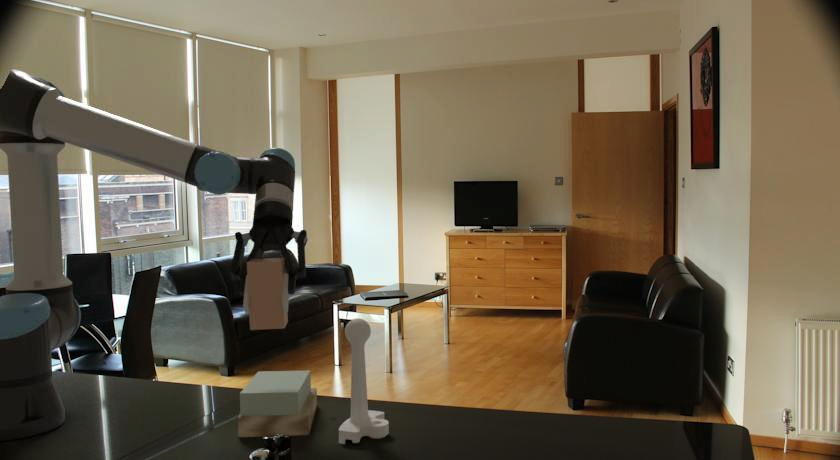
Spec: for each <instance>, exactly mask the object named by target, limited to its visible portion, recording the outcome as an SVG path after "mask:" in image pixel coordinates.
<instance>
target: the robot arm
mask: <svg viewBox="0 0 840 460" xmlns="http://www.w3.org/2000/svg"><path fill="white" fill-rule="evenodd" d="M11 69H12V70H11V71H10V73H9V75H8V77H7V79H6V81H5V83H4V85H3V86H2V88H1V89H0V150H2V151H3V152H4V153H5V154H6V158H7V159H6V160H7V171H8V172H7V173H8V176H7V177H8V190H9V191H8V193H9V207H10V209H9V211H10V226H11V242H12V243H11V245H12V258H13V259H12V262H13V278H12V280H11V281H10V282H9V283H8V284H7V285H6V286H5V295H1V296H0V442H1V441H2V442H4V441H10V440H11V441H12V440H18V439H24V438H28V437H33V436H38V435H40V434H41V435H42V434H43V433H48V432H49V431H51V430H54V429H57V428H58V427H60V426H62V425H63V424H64V422H65V421H66V413H65V411H66V410H65V406H64V404H63V400H62V398H61V396H60V394H59V392H58V389H57V388H56V387H57V386H56V385H55V382H54V379H53V363H52V362H53V361H52V359H53V358H52V352H53V351H55V350H56V349H59V348H61V347H63V346H64V345H65V344H67V343H68V342H69V341H70V340H71V339H72V338H73V336H74V335H75V334H76V332H77V330H78V328H79V327H80V324H81V318H82V313H81V308H80V305H79V303H78V301H77V300H76V298H75V297H74V293H73V289H74V288H73V281H71V280H70V279H69V278H68V277H67V276H66V275H65V274H64V263H63V260H64V259H63V244H62V243H63V241H62V226H61V225H62V224H61V204H60V188H59V187H60V186H59V167H58V165H59V164H58V154H59V153H60V152H61V151H63V150H64V149H65V147H66V143H67V144H69V145H72V146H75V147H78V148H81V149H84V150H87V151H90V152H93V153H96V154H98V155H101V156H105V157H109V158H111V159H114V160H116V161H120V162H122V163H124V164H125V163H126V164H129V165H132V166H135V167H138V168H141V169H144V170H146V171H150V172H152V173H156V174H159V175H161V176H163V177H167V178H171V179H173V180H176V181H179V182H182V183H185V184H187V185H191V186H193V187H196V188H197V190H199V191H201V192H206V193H210V194H214V195H224V194H241V195H242V194H246V195H255V198H254V199H255V201H254V210H253V218H252V226H251V228H250V230H249V231H248V232H247V233H242V232H241V231H237V232H235V233H234V237H235V241H236V242H235V247H234V252H233V257H232V261H231V265H230V266H231V267H230V274H231V279H232V281H234V282H236V281H239V284H238V285H239V287H238V292H239V294H240V296H241V297H243V300H242V301H243V304H242V305H243V306H242V307H243V310H244V313H245V315H246V314H248V315H249V294H248V278H247V262H248V261H250V260H251V259H262V257H263V256H264V254H265V252H269V251H270V252H271V251H273V252H279V254H280V256H281V257H280V258H285V266H286V274H284V281H283V297H282V305H283V310H284V312H288V313H289V299H290V295H295V293H296V281H297V280H298V279H305V278H306V277H307V267H306V266H307V265H306V250H305V249H306V248H305V247H306V244H307V243H308V233H307V230H306V229H301V230H300V231H295V230H294V228H293V218H294V216H293V215H294V214H293V212H294V196H295V195H294V193H295V182H296V163H295V159H294V157H293V154H291V153H290V152H289V151H287V150H286V149H283V148H281V147H271V148H269V149H265V150H264V151H263V152H262V153H261V154H260V155H259V156H260V157H242V156H233V155H230V154H228V153H227V152H226V153H225V152H222V151H218V150H215V149H212V148H209V147H207V146H203V145H200V144H198V143H195V142H192V141H190V140H187V139H184V138H181V137H178V136H175V135H172V134H169V133H167V132H164V131H161V130H158V129H155V128H152V127H149V126H147V125H144V124H141V123H138V122H135V121H133V120H129V119H127V118H123V117H121V116H118V115H114V114H112V113H109V112H108V111H104V110H101V109H98V108H95V107H92V106H89V105H87V104H85V103H81V102H78V101H75V100H72V99H70V98H67V97H66V95H65V94H64V93H63V92H62V91H61V90H60V89H59V88H58V87H57V86H56V85H55V84H53V83H52V82H51V81H48V80H46V79H43V78H41V77H37V76H34V75H31V74H29V73H27V72H24V71H22V70H18V69H15V68H14V69H13V68H11ZM293 239H294V242H295V244H296V245H297V246H296V247H297V268H295V267H294V264H293V261H292V258H291V256H290V254H289V249H288V247H287V245H288V244H289V243H290V242H291V241H292V240H293ZM250 240H251V241H252V242H253V247H252V249H251V251H250V253H249V255H248V257H247V259H246V261H245V263H244V264H243V262H244V257H245V251H246V247H247V246H248V243H249V241H250Z"/></svg>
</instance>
